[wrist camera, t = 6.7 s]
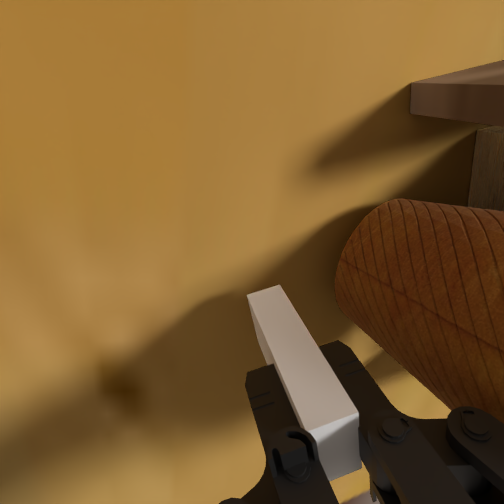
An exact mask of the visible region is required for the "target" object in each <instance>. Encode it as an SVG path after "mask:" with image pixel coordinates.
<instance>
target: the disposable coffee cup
mask: <svg viewBox="0 0 504 504" xmlns="http://www.w3.org/2000/svg"><path fill="white" fill-rule="evenodd" d="M335 295H336V301H337V303H338V306H339V308H340V310H341V311H342V312H343V313H344V314H345V315H346V316H347V317H348V318H350V319H351V320H352V321H353V322H354V323H355V324H356V325H357V326H359V327H360V328H361V329H362V330H363V331H364V332H365V333H366V334H368V335H369V336H370V337H371V338H372V339H373V340H374V341H375V342H376V343H377V344H379V345H380V346H381V347H382V348H383V349H384V350H385V351H386V352H387V353H388V354H390V355H391V356H392V357H393V358H394V359H395V360H396V361H397V362H398V363H399V364H401V365H402V366H403V367H404V368H405V369H406V370H407V371H408V372H409V373H410V374H412V375H413V376H414V377H415V378H416V379H417V380H418V381H419V382H421V383H422V384H423V385H424V386H425V387H426V388H427V389H429V390H430V391H431V392H432V393H433V394H434V395H435V396H436V397H437V398H438V399H440V400H441V401H442V402H443V403H444V404H445V405H446V406H447V407H448V408H449V409H450V410H453V409H455V408H458V407H461V406H471V407H475V408H479V409H481V410H483V411H485V412H487V413H489V414H491V415H492V416H494V417H495V418H496V419H498V420H499V421H500V422H502V423H503V424H504V211H498V210H490V209H481V208H473V207H464V206H457V205H448V204H440V203H433V202H425V201H417V200H410V199H404V198H400V199H393V200H390V201H387V202H384V203H383V204H381V205H380V206H378V207H376V208H375V209H373V210H372V211H371V212H370V213H369V214H368V215H367V216H366V217H365V218H364V219H363V220H362V221H361V222H360V224H359V225H358V226H357V227H356V229H355V230H354V231H353V233H352V234H351V236H350V238H349V239H348V241H347V243H346V245H345V247H344V249H343V251H342V254H341V257H340V260H339V263H338V267H337V270H336V276H335Z"/></svg>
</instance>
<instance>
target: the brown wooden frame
mask: <svg viewBox="0 0 504 504" xmlns="http://www.w3.org/2000/svg"><path fill="white" fill-rule="evenodd" d="M410 114H417V115H424V116H431V117H438V118H445V119H452V120H459V121H466V122H473V123H480V124H487V125H494V126H501V127H504V60H502V61H498V62H494V63H490V64H486V65H482V66H478V67H474V68H469V69H465V70H461V71H457V72H453V73H449V74H445V75H441V76H437V77H433V78H429V79H425V80H421V81H417V82H413V83H411V104H410Z"/></svg>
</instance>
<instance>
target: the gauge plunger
mask: <svg viewBox="0 0 504 504" xmlns="http://www.w3.org/2000/svg"><path fill="white" fill-rule="evenodd" d="M467 207H473V208H481V209H490V210H498V211H504V127H501V126H490V127H487V128H483V129H479V130H477V135H476V143H475V150H474V158H473V166H472V174H471V182H470V190H469V198H468V206H467Z"/></svg>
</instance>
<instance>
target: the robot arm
mask: <svg viewBox="0 0 504 504" xmlns="http://www.w3.org/2000/svg"><path fill="white" fill-rule="evenodd" d="M247 298H248V302H249V306H250V311H251V315H252V319H253V323H254V327H255V331H256V335H257V339H258V343H259V345H260V348H261V350H262V353H263V355H264V358H265V360H266V363H267V366H264V367H262V368H259V369H256V370H253V371H250V372H247V377H246V383H245V387H246V391H247V394H248V397H249V401H250V404H251V408H252V411H253V414H254V418H255V421H256V424H257V427H258V431H259V434H260V437H261V441H262V444H263V447H264V451H265V454H266V467H265V470H264V474H263V476H262V477H261V479H260V481H259V482H258V483H257V484H256V485H255V487H254V488H252V489H251V490H250V491H249V492H248V493H247V494H246V495H244V496H243V497H242V498H241V499H239V498H229V499H227V500H224V501H221V502H220V503H219V504H339V503H338V501H337V498H336V496H335V494H334V492H333V489H332V487H331V485H330V483H329V481H332V480H334V479H337V478H339V477H341V476H344V475H346V474H349V473H351V472H354V471H356V470H359V469H361V468H362V464H361V460H362V461H363V463H364V465H365V467H366V469H367V471H368V472H369V474H370V494H371V497H372V501H373V502H375V501H376V496H377V498H378V500H379V502H380V504H504V424H503V423H502V422H500V421H499V420H498V419H496V418H495V417H494V416H492V415H491V414H489V413H487V412H485V411H483V410H481V409H479V408H475V407H471V406H461V407H458V408H455V409H453V410H452V411H451V412H450V414H449V415H448V418H447V419H416V418H413V417H409V416H407V415H405V414H403V413H401V412H400V411H398V410H397V409H396V408H395V407H394V406H393V405H392V404H391V403H390V401H389V400H388V399H387V397H386V396H385V395H384V393H383V392H382V391H381V389H380V388H379V386H378V385H377V384H376V382H375V381H374V380H373V378H372V377H371V376H370V374H369V373H368V371H367V370H365V367H364V366H363V365H362V363H361V362H360V361H359V360H358V358H357V356H356V355H355V354H354V352H353V351H352V350H351V348H350V347H348V346H346V345H345V344H343V343H342V342H340V341H339V340H337V341H334V342H331V343H328V344H326V345H323V346H320V347H318V346H317V344H316V343H315V341H314V339H313V338H312V336H311V334H310V333H309V331H308V330H307V328H306V326H305V325H304V323H303V321H302V320H301V318H300V317H299V315H298V313H297V312H296V310H295V308H294V307H293V305H292V304H291V302H290V300H289V299H288V297H287V296H286V294H285V292H284V291H283V289H282V287H281V286H280V285H276V286H273V287H270V288H267V289H264V290H261V291H257V292H254V293H251V294H248V295H247Z"/></svg>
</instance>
